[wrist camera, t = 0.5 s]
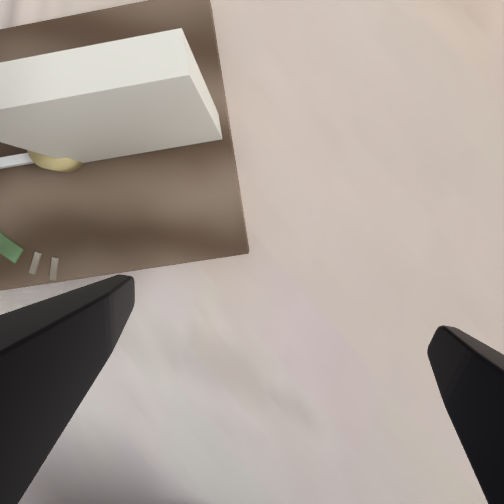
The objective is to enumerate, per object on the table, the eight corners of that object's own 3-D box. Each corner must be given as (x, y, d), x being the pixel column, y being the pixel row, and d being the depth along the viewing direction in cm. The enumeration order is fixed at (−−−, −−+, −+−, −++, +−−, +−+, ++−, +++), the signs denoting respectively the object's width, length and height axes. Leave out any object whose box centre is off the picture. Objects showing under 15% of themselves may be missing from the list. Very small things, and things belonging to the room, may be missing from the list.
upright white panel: (223, 147, 20) (191, 89, 11) (-35, 190, 21) (-256, 169, 12) (217, 106, 20) (179, 12, 11) (-44, 152, 21) (-278, 101, 12)
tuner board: (249, 251, 23) (248, 253, 21) (-7, 289, 24) (-28, 294, 22) (211, 5, 21) (206, -13, 19) (-64, 58, 22) (-90, 45, 20)
